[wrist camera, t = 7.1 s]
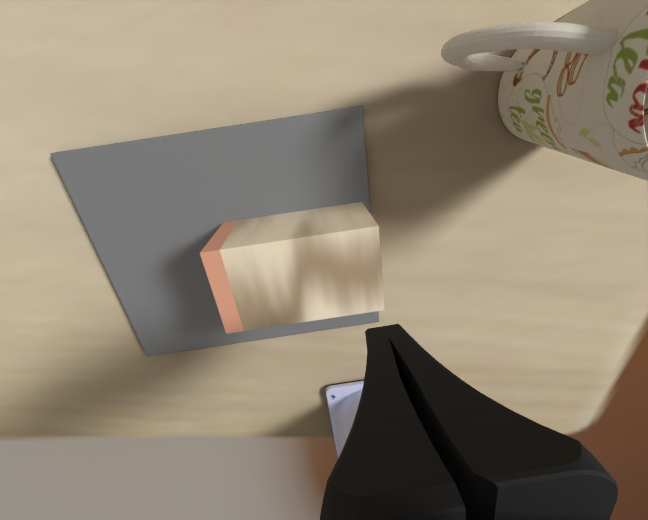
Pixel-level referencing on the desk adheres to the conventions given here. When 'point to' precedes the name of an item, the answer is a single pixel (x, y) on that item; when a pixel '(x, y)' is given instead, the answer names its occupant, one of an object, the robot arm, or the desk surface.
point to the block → (295, 267)
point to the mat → (207, 212)
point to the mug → (572, 81)
